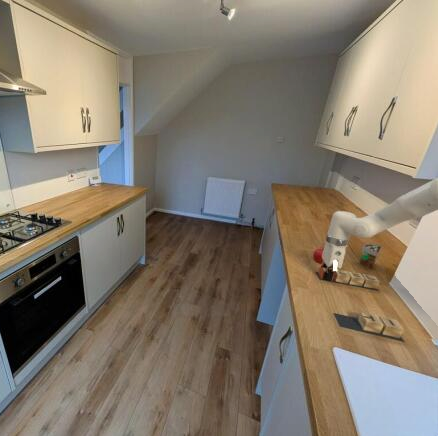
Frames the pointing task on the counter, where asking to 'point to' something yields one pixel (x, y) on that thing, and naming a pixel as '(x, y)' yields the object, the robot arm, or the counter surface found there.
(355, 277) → the wooden letter cube
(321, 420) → the counter surface
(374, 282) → the light wood cube
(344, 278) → the tile
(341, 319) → the word mat
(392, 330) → the tile
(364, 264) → the food container
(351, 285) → the word mat
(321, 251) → the pomegranate
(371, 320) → the tan wooden cube
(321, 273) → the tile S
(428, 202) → the robot arm
